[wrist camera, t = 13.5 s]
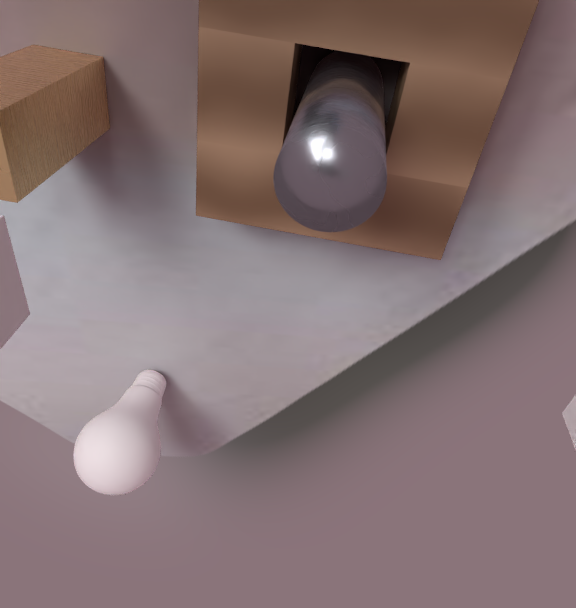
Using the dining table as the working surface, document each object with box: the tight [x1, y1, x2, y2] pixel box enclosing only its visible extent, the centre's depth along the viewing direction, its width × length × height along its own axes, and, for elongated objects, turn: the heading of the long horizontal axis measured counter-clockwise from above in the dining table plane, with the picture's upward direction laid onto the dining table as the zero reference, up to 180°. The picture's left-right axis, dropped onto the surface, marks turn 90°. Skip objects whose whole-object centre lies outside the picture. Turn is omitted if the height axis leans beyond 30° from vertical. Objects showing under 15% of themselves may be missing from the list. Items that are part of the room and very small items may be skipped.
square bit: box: [0, 45, 110, 203], centre depth 25 cm, size 4×4×10 cm
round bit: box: [273, 51, 387, 232], centre depth 22 cm, size 4×4×12 cm
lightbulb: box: [73, 370, 166, 495], centre depth 39 cm, size 6×6×11 cm
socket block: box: [196, 0, 539, 260], centre depth 26 cm, size 14×14×4 cm
